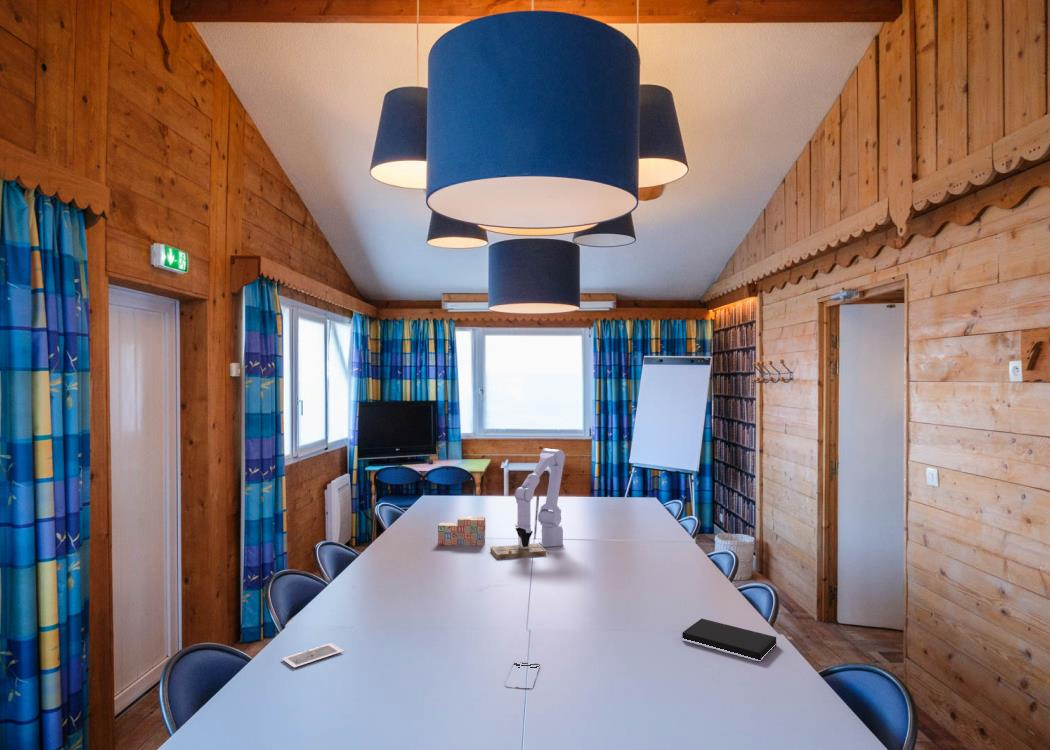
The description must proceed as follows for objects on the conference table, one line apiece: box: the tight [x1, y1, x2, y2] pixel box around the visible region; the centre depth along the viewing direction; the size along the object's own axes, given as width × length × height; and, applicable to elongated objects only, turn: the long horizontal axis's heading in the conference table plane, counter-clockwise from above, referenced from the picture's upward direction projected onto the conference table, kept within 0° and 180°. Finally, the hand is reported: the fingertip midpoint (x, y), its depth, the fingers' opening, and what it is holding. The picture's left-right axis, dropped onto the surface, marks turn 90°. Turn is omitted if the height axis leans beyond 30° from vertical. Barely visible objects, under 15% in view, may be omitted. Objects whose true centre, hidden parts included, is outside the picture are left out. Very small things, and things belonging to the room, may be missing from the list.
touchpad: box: [281, 642, 345, 668], centre depth 186 cm, size 8×15×2 cm, turn 134°
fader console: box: [489, 543, 547, 560], centre depth 290 cm, size 22×12×3 cm, turn 106°
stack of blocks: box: [437, 516, 486, 547], centre depth 305 cm, size 21×6×12 cm, turn 86°
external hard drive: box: [681, 618, 777, 660], centre depth 196 cm, size 14×23×3 cm, turn 52°
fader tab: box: [517, 535, 531, 550], centre depth 290 cm, size 4×4×5 cm
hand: (523, 545), depth 290 cm, fingers closed on fader tab, 4 cm apart
